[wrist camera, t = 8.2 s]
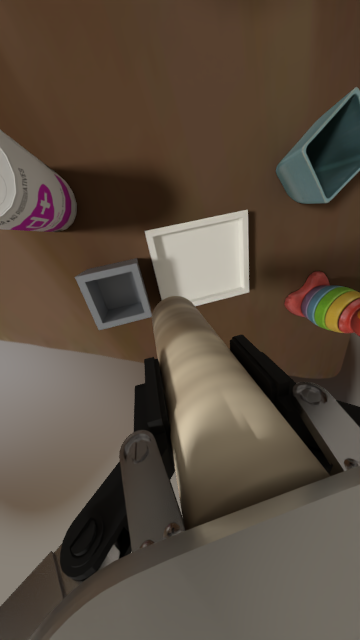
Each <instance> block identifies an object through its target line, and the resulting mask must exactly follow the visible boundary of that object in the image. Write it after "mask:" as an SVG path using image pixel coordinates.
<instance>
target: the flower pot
mask: <svg viewBox="0 0 360 640" xmlns="http://www.w3.org/2000/svg"><path fill="white" fill-rule="evenodd" d="M359 171H360V90H359V89H358V88H357V87H356V88H355V89H353V90H352V91H351V92H350V93H349V94H347V95H346V96H345V97H344V98H343V99H341V100H340V101H339V102H338V103H337V104H335V105H334V106H333V107H332V108H331V109H330V110H328V111H327V112H326V113H325V114H324V115H323V116H321V117H320V118H319V119H318V120H317V121H316V122H315V123H314V124H313V125H312V127H311V128H310V129H309V130H308V131H307V132H306V133H305V135H304V136H303V137H302V138H301V139H300V140H299V141H298V143H297V144H296V145H295V146H294V147H293V148H292V149H291V150H290V152H289V153H288V154H287V155H286V156H285V157H284V158H283V159H282V160H281V162H280V163H279V164H278V166H277V168H276V174H277V176H278V178H279V180H280V181H281V183H282V185H283V187H284V189H285V190H286V192H287V194H288V195H289V196H290V197H291V198H292V199H293V200H295V201H296V202H299V203H305V204H311V203H328V202H330V201H331V200H332V199H333V198H334V197H335V196H336V195H337V194H338V192H339V191H340V190H341V189H342V188H343V187H344V186H345V185H346V184H347V183H348V182H349V181H350V180H351V179H352V178H353V177H354V176H355V175H356V174H357V173H358V172H359Z"/></svg>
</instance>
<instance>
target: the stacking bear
mask: <svg viewBox="0 0 360 640" xmlns="http://www.w3.org/2000/svg"><path fill="white" fill-rule="evenodd" d="M285 306H286V308H287V309H288V310H289V311H290V312H291V313H293V314H295V315H297V316H301V317H306V318H307V319H309V320H310V321H311V322H313V323H314V324H316V325H317V326H319V327H321V328H324V329H327V330H332V331H335V332H340V333H353V332H355V333H356V334H357V335H358V336H360V293H359V292H357V291H355V290H353V289H350V288H347V287H343V286H335V285H331V286H330V284H329V281H328V278H327V277H326V275H325V274H324V273H323V272H321V271H317V272H316V271H315V272H313V273H312V274H311V275H309V277H308V278H307V280H306V282H305V284H304V285H303V286H302V287H301V288H300V289H299V290H298V291H295V292H293V293H291V294H289V296H288V297H286V300H285Z"/></svg>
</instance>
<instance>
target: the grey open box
mask: <svg viewBox="0 0 360 640" xmlns="http://www.w3.org/2000/svg"><path fill="white" fill-rule="evenodd" d="M75 278H76V281H77V283H78V285H79V287H80V289H81V292H82V294H83V296H84V298H85V300H86V303H87V305H88V307H89V309H90V312H91V314H92V316H93V318H94V320H95V323H96V325H97V327H98V329H99V330H102V329H106V328H110V327H114V326H118V325H121V324H125V323H129V322H133V321H137V320H141V319H145V318H149V317H152V314H151V308H150V302H149V299H148V295H147V292H146V288H145V285H144V281H143V278H142V274H141V271H140V267H139V264H138V260H137V258H136V259H132V260H127V261H123V262H118V263H114V264H109V265H105V266H100V267H96V268H91V269H87V270H85V271H84V272H82V273H81V274H79V275H77V276H76V277H75Z"/></svg>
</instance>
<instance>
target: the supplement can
mask: <svg viewBox="0 0 360 640" xmlns="http://www.w3.org/2000/svg"><path fill="white" fill-rule="evenodd" d="M76 214H77V203H76V200H75V197H74V194H73V192H72V190H71V189H70V187H69V185H68V184H67V182H66V181H65V180H64V179H62V178H61V177H60V176H59V175H58V174H57V173H56V172H54V171H53V170H52V169H50V168H49V167H48V166H47V165H45V164H44V163H43V162H41V161H40V160H39V159H37V158H36V157H35V156H34V155H32V154H31V153H30V152H28V151H27V150H26V149H24V148H23V147H22V146H21V145H19V144H18V143H17V142H15V141H14V140H13V139H11V138H10V137H9V136H7V135H6V134H5V133H4V132H2V131H1V130H0V229H8V230H27V231H46V232H59V231H62V230H65V229H67V228H68V227H69V226H70V225H71V224H73V222H74V219H75V217H76Z"/></svg>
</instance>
